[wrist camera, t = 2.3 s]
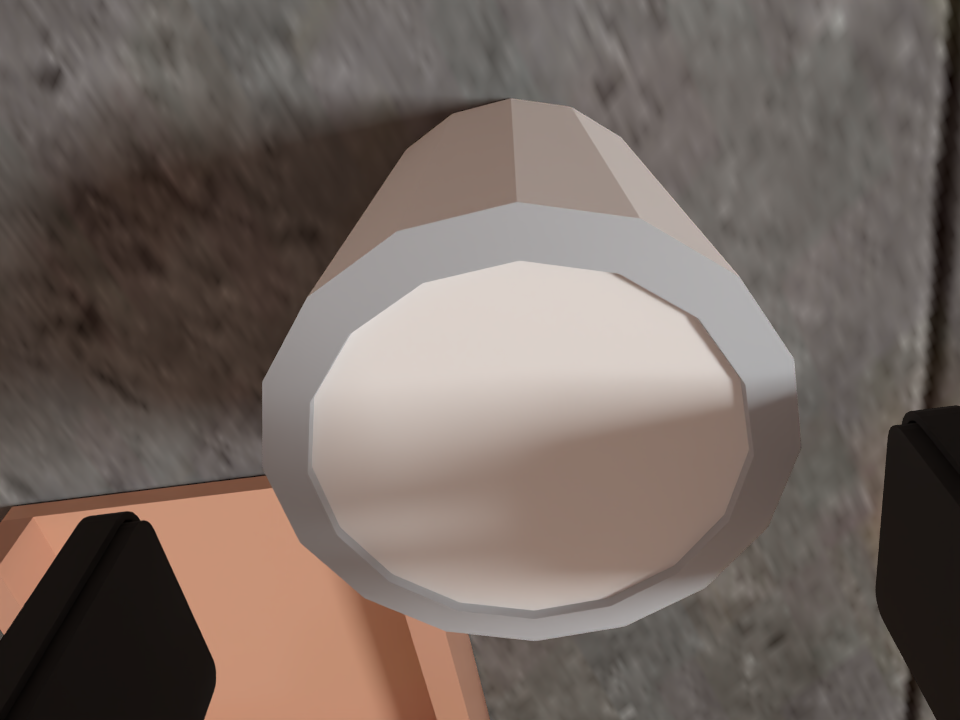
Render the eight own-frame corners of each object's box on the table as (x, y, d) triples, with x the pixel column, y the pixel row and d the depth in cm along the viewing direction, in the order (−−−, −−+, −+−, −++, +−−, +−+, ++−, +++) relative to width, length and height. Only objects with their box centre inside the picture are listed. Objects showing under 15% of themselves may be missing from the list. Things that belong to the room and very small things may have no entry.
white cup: (525, 440, 19) (538, 710, 13) (275, 254, 17) (151, 478, 11) (766, 230, 16) (921, 449, 10) (505, -26, 14) (511, 65, 8)
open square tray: (12, 506, 20) (-38, 573, 18) (422, 456, 19) (414, 521, 17) (163, 758, 26) (136, 830, 24) (492, 729, 24) (492, 802, 23)
